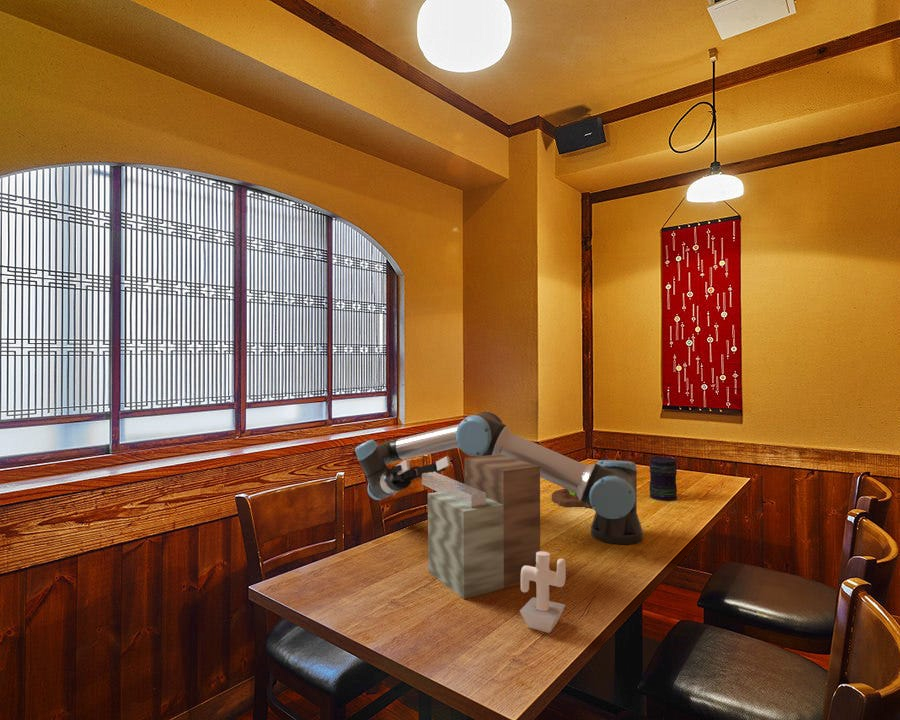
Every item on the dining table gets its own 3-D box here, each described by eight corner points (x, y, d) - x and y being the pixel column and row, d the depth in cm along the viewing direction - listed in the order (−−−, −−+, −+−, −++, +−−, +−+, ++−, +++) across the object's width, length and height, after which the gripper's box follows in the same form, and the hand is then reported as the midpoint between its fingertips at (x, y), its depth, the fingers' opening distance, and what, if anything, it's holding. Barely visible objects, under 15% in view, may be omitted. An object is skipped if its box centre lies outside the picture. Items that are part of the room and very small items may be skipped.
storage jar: (681, 501, 200) (681, 461, 199) (654, 501, 200) (654, 461, 200) (670, 494, 209) (670, 456, 209) (645, 494, 210) (645, 456, 210)
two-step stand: (428, 571, 136) (427, 462, 136) (499, 555, 147) (498, 454, 146) (463, 599, 120) (463, 476, 120) (540, 578, 131) (540, 466, 131)
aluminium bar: (422, 484, 146) (422, 473, 146) (434, 482, 148) (434, 471, 147) (471, 508, 123) (471, 495, 123) (485, 505, 125) (485, 492, 125)
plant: (547, 494, 210) (547, 466, 210) (596, 494, 210) (596, 466, 210) (557, 509, 190) (557, 478, 190) (611, 509, 190) (611, 478, 190)
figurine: (527, 612, 114) (527, 543, 114) (570, 623, 109) (570, 551, 109) (514, 627, 108) (514, 554, 108) (559, 640, 103) (559, 563, 103)
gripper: (432, 487, 173) (467, 471, 157) (361, 496, 160) (392, 479, 144) (427, 464, 176) (461, 446, 160) (358, 471, 162) (387, 452, 146)
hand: (428, 462), depth 152 cm, fingers open, 13 cm apart
